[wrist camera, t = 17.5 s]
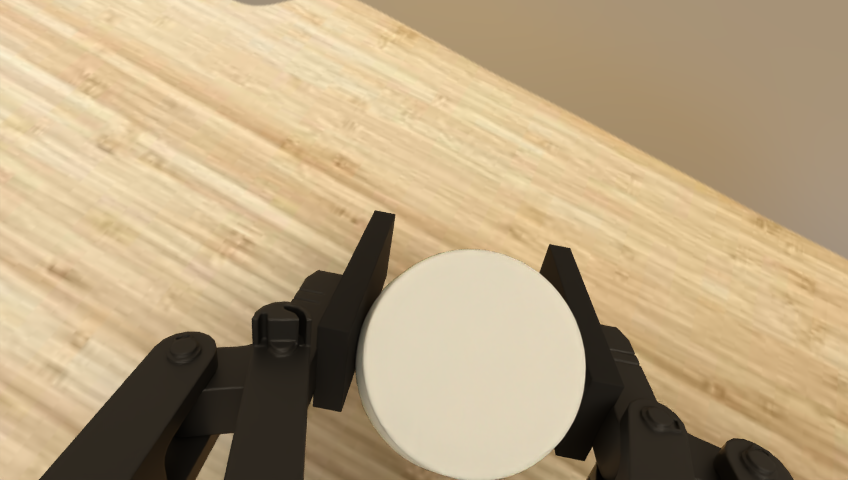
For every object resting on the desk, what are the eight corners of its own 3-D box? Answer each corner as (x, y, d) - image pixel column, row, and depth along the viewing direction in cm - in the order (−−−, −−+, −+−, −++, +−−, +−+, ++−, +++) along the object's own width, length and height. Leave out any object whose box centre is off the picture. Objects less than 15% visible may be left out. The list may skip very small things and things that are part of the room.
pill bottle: (532, 345, 19) (663, 321, 9) (458, 466, 17) (524, 586, 8) (423, 270, 20) (442, 177, 10) (344, 380, 18) (277, 394, 9)
